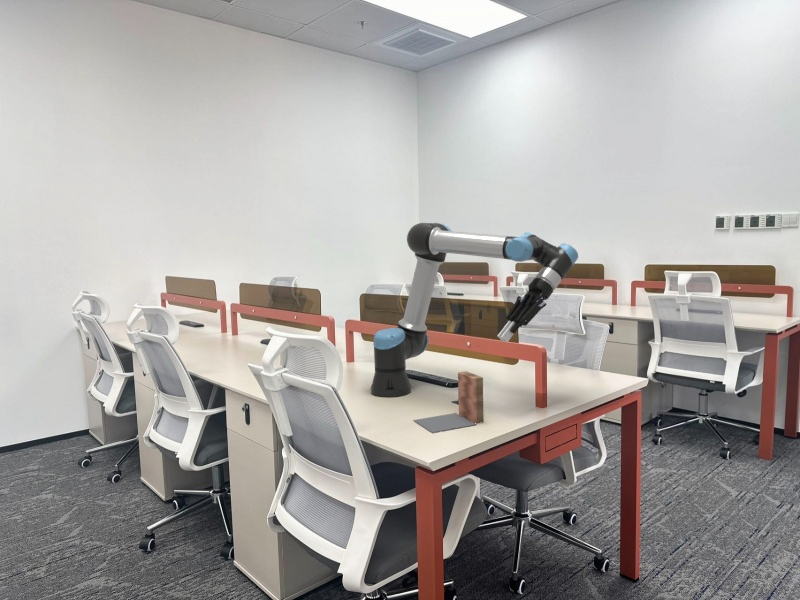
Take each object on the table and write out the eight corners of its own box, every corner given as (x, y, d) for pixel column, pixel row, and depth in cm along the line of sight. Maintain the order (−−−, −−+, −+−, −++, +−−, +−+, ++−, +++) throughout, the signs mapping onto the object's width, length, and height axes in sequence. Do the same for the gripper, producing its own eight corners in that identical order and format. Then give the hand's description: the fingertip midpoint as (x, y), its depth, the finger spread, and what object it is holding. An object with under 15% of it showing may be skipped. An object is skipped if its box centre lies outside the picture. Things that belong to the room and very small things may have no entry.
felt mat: (413, 421, 174) (413, 420, 174) (455, 413, 180) (455, 412, 180) (432, 433, 162) (432, 432, 162) (476, 425, 168) (476, 424, 168)
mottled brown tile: (458, 415, 179) (458, 372, 178) (467, 413, 180) (466, 371, 179) (475, 423, 170) (474, 378, 169) (483, 422, 171) (482, 377, 170)
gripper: (565, 293, 177) (522, 350, 172) (537, 290, 190) (496, 343, 185) (551, 277, 175) (508, 334, 170) (524, 275, 188) (482, 329, 183)
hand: (502, 339), depth 178 cm, fingers closed
